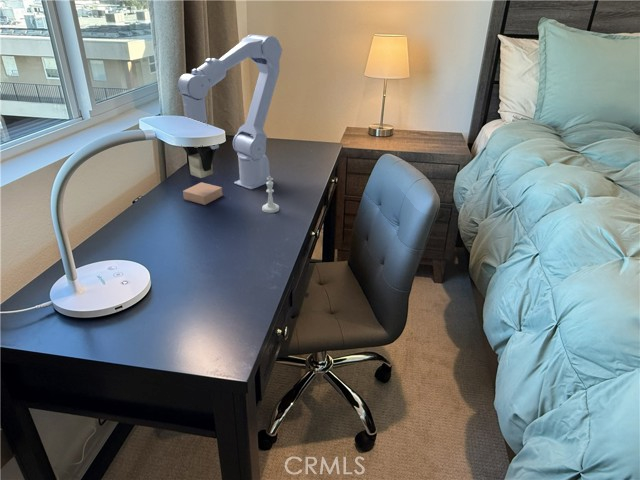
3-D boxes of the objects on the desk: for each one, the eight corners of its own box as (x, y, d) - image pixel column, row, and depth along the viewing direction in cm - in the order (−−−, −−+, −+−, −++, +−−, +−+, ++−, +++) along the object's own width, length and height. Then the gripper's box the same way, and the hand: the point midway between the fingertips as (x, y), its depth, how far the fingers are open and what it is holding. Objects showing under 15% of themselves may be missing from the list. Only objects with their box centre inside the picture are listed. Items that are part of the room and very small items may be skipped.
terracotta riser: (202, 191, 138) (201, 182, 137) (222, 196, 135) (221, 187, 134) (184, 200, 132) (182, 190, 131) (204, 206, 129) (203, 196, 128)
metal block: (203, 170, 132) (200, 152, 129) (213, 173, 130) (211, 155, 127) (190, 174, 129) (188, 156, 126) (200, 178, 126) (198, 159, 124)
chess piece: (276, 213, 125) (275, 180, 120) (259, 211, 126) (258, 178, 121) (281, 206, 129) (280, 173, 124) (265, 204, 130) (263, 172, 125)
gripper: (167, 119, 123) (174, 166, 129) (202, 128, 115) (207, 178, 122) (188, 114, 128) (193, 159, 134) (222, 123, 120) (226, 171, 127)
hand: (201, 168), depth 128 cm, fingers closed on metal block, 4 cm apart
